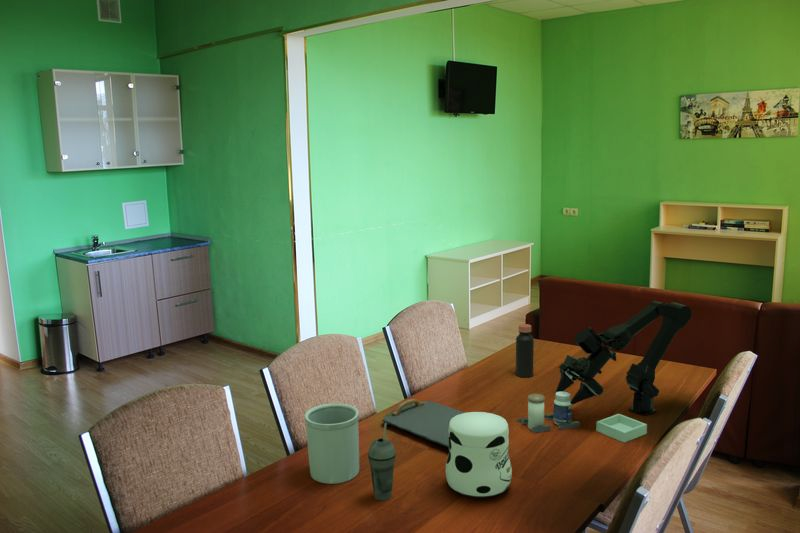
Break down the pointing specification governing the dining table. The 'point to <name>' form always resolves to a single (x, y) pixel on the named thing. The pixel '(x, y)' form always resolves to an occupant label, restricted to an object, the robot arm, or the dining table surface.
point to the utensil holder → (333, 442)
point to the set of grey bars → (548, 427)
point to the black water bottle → (524, 351)
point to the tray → (621, 427)
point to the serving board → (423, 419)
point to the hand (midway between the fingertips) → (563, 398)
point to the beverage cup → (382, 467)
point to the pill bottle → (562, 408)
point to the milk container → (478, 455)
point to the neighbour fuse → (535, 410)
